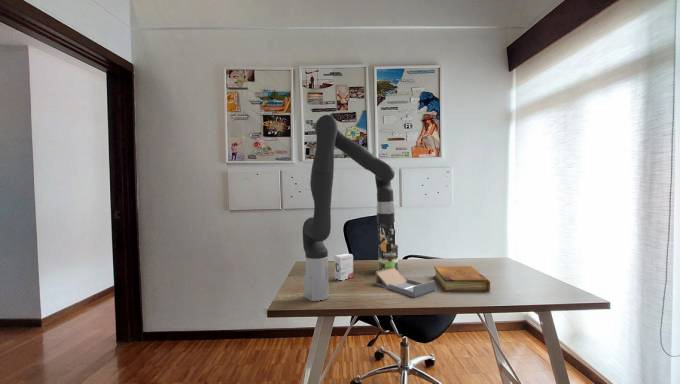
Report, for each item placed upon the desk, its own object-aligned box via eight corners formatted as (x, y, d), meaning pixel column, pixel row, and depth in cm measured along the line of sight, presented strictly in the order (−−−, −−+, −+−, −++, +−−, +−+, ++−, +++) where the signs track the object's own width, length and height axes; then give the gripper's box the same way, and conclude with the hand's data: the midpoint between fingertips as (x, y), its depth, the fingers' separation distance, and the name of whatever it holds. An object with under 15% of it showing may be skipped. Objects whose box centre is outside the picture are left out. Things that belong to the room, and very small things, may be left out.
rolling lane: (415, 298, 134) (414, 283, 134) (374, 285, 153) (374, 271, 153) (434, 291, 142) (434, 277, 142) (394, 279, 161) (394, 266, 161)
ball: (383, 253, 139) (383, 241, 139) (378, 251, 144) (378, 240, 144) (394, 252, 140) (394, 241, 140) (389, 250, 145) (389, 239, 145)
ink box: (347, 275, 168) (347, 252, 167) (354, 278, 164) (353, 254, 163) (334, 279, 162) (333, 255, 162) (340, 281, 158) (340, 257, 158)
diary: (490, 293, 140) (490, 279, 140) (445, 292, 141) (445, 279, 141) (472, 277, 163) (472, 265, 163) (434, 277, 164) (434, 265, 164)
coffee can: (400, 274, 168) (399, 247, 168) (380, 275, 168) (379, 247, 168) (396, 269, 179) (395, 243, 178) (377, 269, 178) (376, 243, 178)
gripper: (371, 211, 147) (372, 248, 148) (384, 213, 133) (385, 255, 134) (386, 210, 149) (387, 247, 150) (401, 212, 136) (401, 253, 136)
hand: (386, 251), depth 142 cm, fingers closed on ball, 5 cm apart
